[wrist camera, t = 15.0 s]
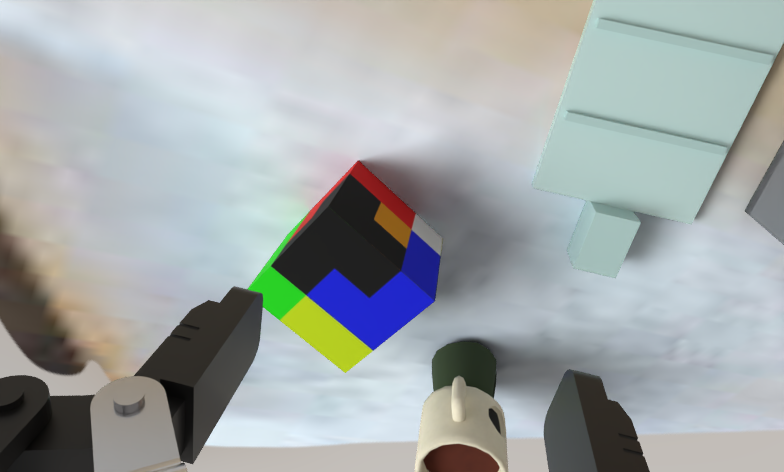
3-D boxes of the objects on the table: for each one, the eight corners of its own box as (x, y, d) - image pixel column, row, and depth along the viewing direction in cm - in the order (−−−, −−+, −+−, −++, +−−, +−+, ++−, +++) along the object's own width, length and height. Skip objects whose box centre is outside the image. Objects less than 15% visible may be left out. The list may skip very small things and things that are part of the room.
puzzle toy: (443, 238, 45) (435, 300, 37) (368, 302, 50) (345, 372, 41) (358, 160, 43) (328, 206, 34) (288, 234, 48) (245, 292, 39)
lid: (619, -80, 34) (633, -86, 31) (815, -40, 33) (848, -42, 30) (513, 237, 44) (516, 255, 41) (660, 272, 44) (673, 292, 41)
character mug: (502, 405, 53) (509, 524, 41) (432, 403, 54) (420, 519, 42) (500, 315, 48) (507, 422, 36) (423, 316, 49) (407, 418, 38)
